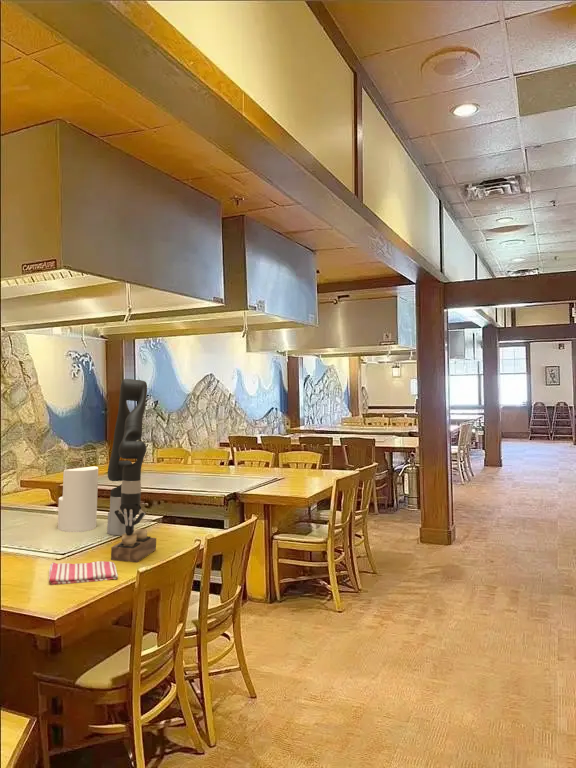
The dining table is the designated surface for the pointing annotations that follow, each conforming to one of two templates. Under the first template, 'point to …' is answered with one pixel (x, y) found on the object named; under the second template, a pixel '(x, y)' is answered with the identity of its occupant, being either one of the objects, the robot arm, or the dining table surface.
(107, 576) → the dish towel
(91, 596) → the dining table surface
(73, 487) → the cylinder
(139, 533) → the peg
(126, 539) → the peg
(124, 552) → the socket block
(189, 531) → the dining table surface
